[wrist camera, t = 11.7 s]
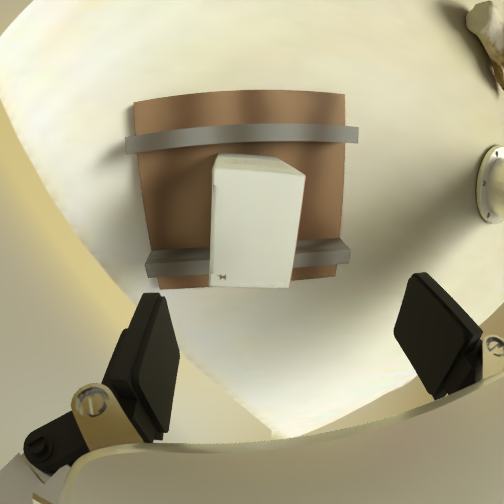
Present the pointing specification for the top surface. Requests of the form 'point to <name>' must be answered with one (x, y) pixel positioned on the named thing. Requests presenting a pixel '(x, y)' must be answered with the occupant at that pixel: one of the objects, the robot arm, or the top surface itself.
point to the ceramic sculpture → (489, 34)
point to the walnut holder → (238, 142)
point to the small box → (254, 221)
